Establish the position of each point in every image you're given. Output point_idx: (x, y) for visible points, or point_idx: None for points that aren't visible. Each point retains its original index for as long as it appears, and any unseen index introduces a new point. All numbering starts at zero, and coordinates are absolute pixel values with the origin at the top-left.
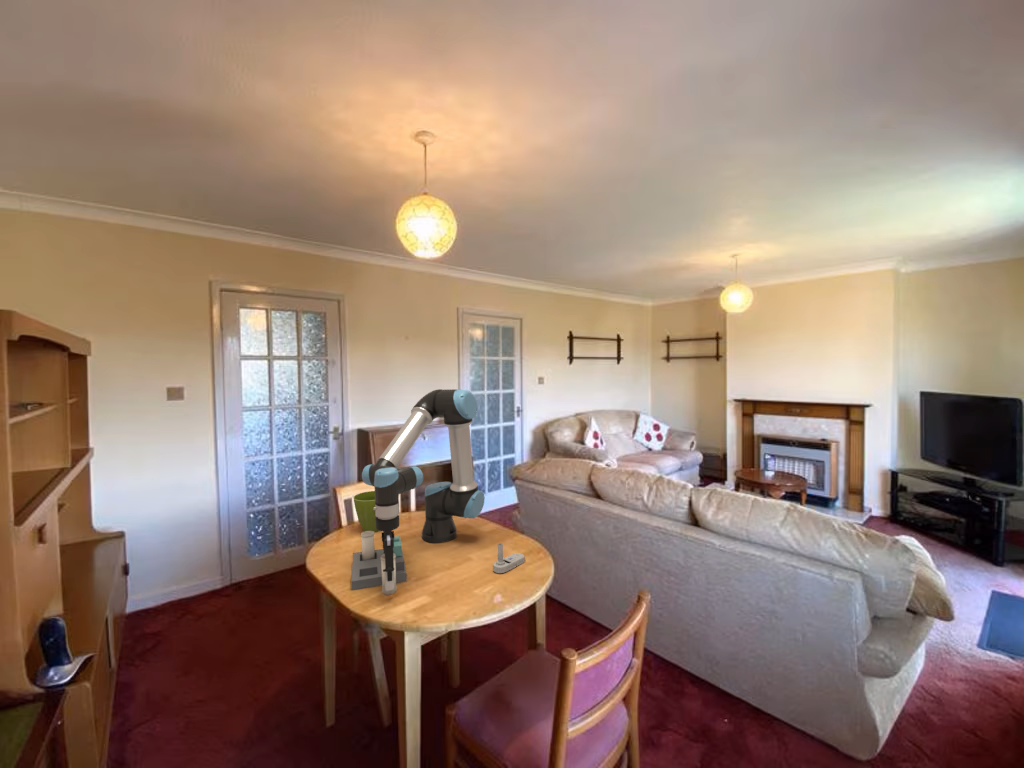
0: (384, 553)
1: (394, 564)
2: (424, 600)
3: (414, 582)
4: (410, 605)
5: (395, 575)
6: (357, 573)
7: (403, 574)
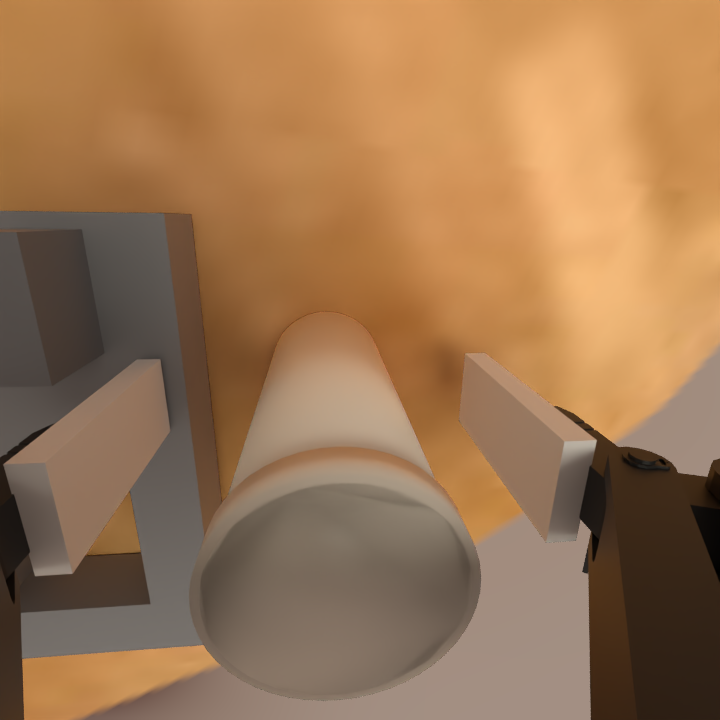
0: (19, 590)
1: (390, 420)
2: (583, 98)
3: (231, 142)
4: (599, 224)
5: (357, 355)
6: (82, 620)
7: (171, 246)
